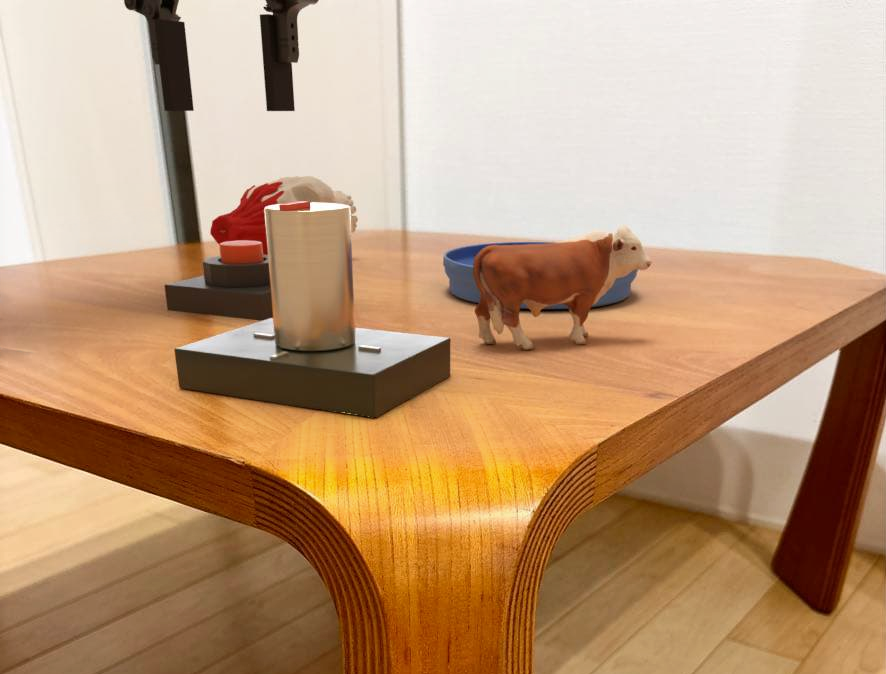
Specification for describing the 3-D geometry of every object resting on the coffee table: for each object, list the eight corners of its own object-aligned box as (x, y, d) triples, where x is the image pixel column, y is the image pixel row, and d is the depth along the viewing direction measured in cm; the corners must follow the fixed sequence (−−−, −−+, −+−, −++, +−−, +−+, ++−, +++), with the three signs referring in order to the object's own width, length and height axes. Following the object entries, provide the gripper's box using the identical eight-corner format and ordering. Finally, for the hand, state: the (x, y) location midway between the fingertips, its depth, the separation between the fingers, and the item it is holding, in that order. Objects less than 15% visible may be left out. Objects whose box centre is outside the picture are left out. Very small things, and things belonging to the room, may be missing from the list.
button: (212, 265, 78) (210, 244, 77) (238, 259, 81) (236, 239, 80) (247, 268, 76) (245, 246, 76) (272, 262, 79) (270, 241, 79)
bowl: (407, 288, 88) (406, 250, 87) (553, 272, 97) (555, 237, 96) (519, 321, 75) (520, 276, 73) (677, 299, 83) (681, 259, 82)
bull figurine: (651, 343, 68) (662, 228, 64) (478, 354, 65) (480, 234, 61) (625, 330, 71) (635, 221, 68) (460, 340, 68) (462, 226, 65)
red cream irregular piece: (365, 254, 105) (247, 284, 98) (317, 243, 113) (205, 269, 106) (354, 171, 100) (229, 196, 93) (305, 165, 108) (187, 187, 101)
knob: (304, 330, 60) (295, 196, 56) (370, 337, 58) (365, 199, 54) (258, 346, 56) (246, 202, 52) (328, 355, 54) (320, 206, 50)
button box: (167, 310, 78) (161, 262, 77) (232, 293, 86) (228, 249, 84) (262, 321, 75) (258, 271, 73) (322, 302, 82) (319, 256, 80)
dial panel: (178, 388, 57) (173, 345, 56) (272, 353, 65) (269, 315, 64) (374, 418, 51) (373, 372, 50) (450, 376, 59) (450, 335, 58)
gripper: (39, -236, 65) (91, 110, 75) (298, -288, 56) (319, 111, 66) (116, -207, 71) (154, 110, 81) (360, -250, 63) (371, 111, 72)
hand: (228, 110), depth 73 cm, fingers open, 9 cm apart
